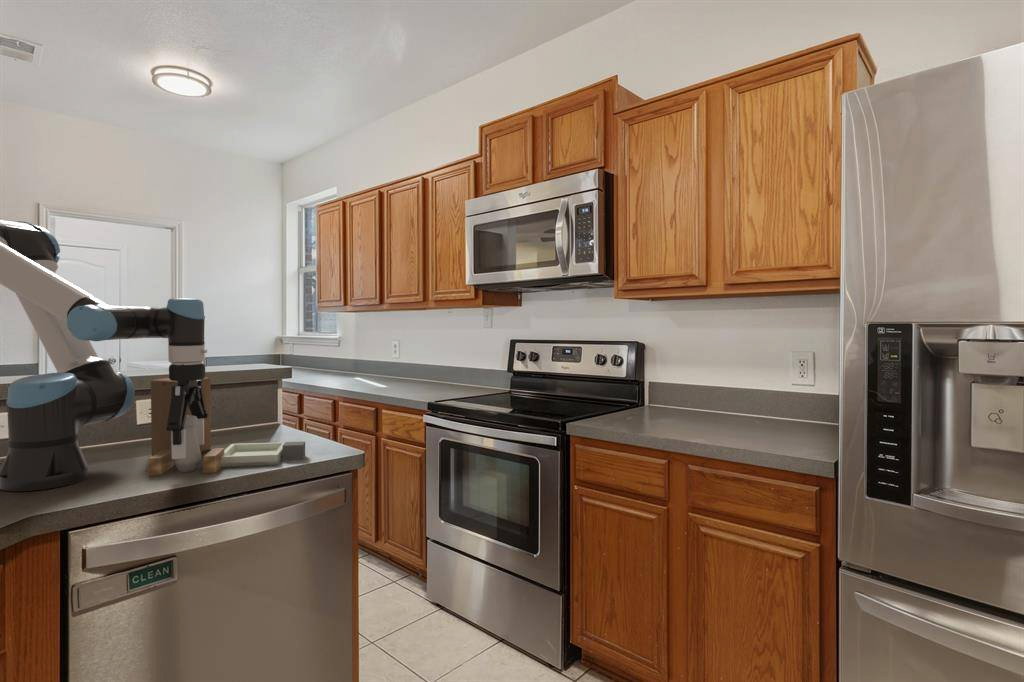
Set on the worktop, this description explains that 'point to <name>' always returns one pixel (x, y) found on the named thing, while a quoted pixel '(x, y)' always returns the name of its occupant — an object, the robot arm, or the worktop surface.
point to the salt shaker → (190, 447)
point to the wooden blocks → (164, 461)
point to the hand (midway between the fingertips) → (188, 451)
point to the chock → (293, 450)
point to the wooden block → (160, 414)
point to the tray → (252, 454)
